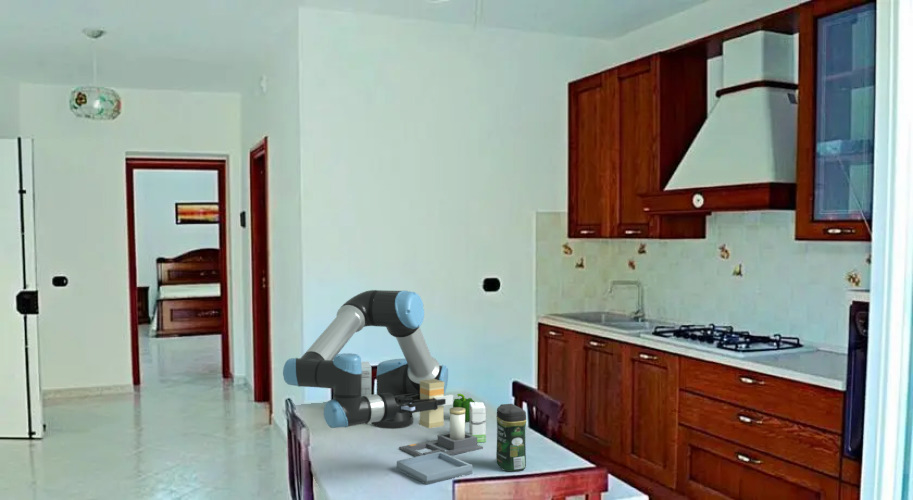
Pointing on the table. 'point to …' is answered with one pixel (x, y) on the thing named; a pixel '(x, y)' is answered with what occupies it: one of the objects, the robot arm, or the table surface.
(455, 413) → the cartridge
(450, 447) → the holder block
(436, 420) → the beige tall box
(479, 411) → the ink box
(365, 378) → the supplement box
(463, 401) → the bell pepper
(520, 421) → the coffee jar
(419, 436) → the table surface
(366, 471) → the table surface
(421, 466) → the tray
